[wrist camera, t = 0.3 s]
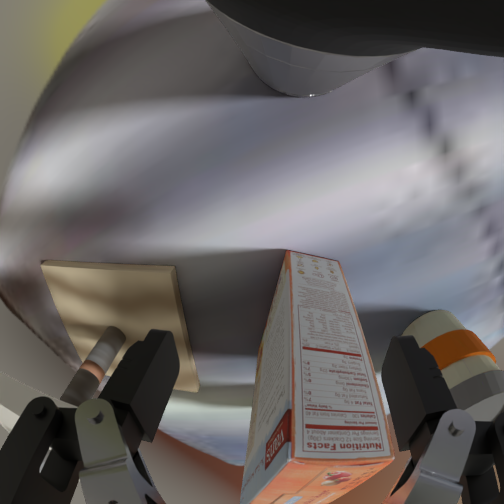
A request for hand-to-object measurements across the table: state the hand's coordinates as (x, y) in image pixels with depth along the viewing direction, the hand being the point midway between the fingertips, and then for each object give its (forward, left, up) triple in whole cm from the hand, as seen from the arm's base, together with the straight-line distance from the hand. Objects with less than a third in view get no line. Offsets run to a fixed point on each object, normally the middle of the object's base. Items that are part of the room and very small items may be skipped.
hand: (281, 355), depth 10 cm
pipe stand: (+17, -21, -18) cm, 33 cm away
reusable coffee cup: (+17, +20, -19) cm, 32 cm away
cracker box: (+12, +2, -19) cm, 22 cm away
